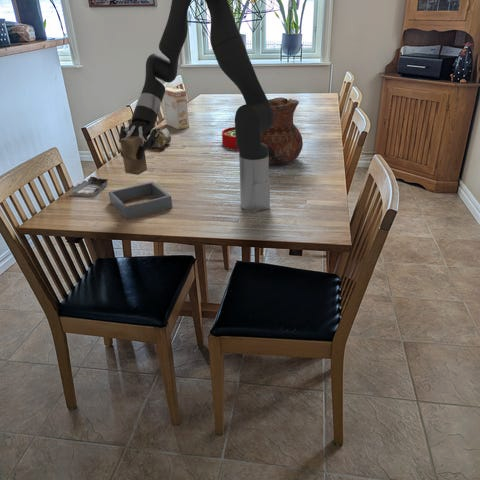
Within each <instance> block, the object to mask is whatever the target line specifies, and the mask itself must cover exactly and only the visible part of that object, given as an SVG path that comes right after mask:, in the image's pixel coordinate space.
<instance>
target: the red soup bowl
mask: <svg viewBox="0 0 480 480" xmlns="http://www.w3.org/2000/svg"><path fill="white" fill-rule="evenodd" d="M221 141H222V146H224V147H225V148H227V147H228V149H231V148H232V149H231V150H238V147H237V144H236V133H235V126H231V127H227V128H225V129H223V130H222V131H221Z"/></svg>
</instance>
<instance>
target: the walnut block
mask: <svg viewBox="0 0 480 480" xmlns="http://www.w3.org/2000/svg"><path fill="white" fill-rule="evenodd" d="M140 142H141V137H139V136H127V137H125V138H123V139H120V142H119V143H120V147H121V150H122V155H123V157H122V159H123V160H122V161H123V167H124V171H125V172H124V173H125V174H129V175H137V176H139V175H141V174H142V173H144V172H146V171H147V170H148V166H147V159H146V151H145V152H144V155H143V158H141V160H138V159H137V158H136V154H137V151H138V148H139V147H140Z"/></svg>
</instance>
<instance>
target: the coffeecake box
mask: <svg viewBox="0 0 480 480" xmlns="http://www.w3.org/2000/svg"><path fill="white" fill-rule="evenodd" d="M163 107H164V115H165V123H166V125H167V126H169V127H172V128H173V129H177V130H181V129H183V130H184V129H188V127H189V128H190V123H189V112H188V111H189V110H188V98H187V90H186V89H181V88H177V87H172V86H171V87H165V94H164V97H163Z"/></svg>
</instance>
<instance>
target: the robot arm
mask: <svg viewBox="0 0 480 480" xmlns="http://www.w3.org/2000/svg"><path fill="white" fill-rule="evenodd" d="M192 1H193V0H171V3H170V4H171V5H170V9H169V14H168V18H167V21H166V23H165V27H164V29H163V32H162V35H161V37H160V41H159V43H158V50H159V51H160V52H161V54H163V55H164V56H162V55H160V54H158V53H151V54H150V55H149V56H148V57H147V58H146V61H145V77H144V78H145V79H144V85H143V87H142V90H141V93H140V96H139V98H138V99H137V101H136V105H135V107H134V109H133V110H134V111H133V113H132V116H131V123H130V124H129V125H128V126H126V127H125V126H124V125H122V126H120V128H119V129H120V131H119V138H118V142H119V143H120V139H123V138H125V137H127V136H139V137H141V142H140V147H139V148H138V151H137V154H136V158H137V159H138V160H141V158H143V155H144V152H145V153H146V150H148V149H150V150H152V148H153V147H154V146H153V145H154V144H155V142H156V140H157V138H158V137H159V135H160V134H159V132H158V131H157V129H156V128H155V125H156V123H157V120H158V117H159V114H160V110H161V106H162V102H163V101H164V98H163V97H164V94H165V88H166V87H165V85H164V84H163V83H162V82H165V83H170V84H171V83H173V82H174V81H175V80H176V78H177V76H178V69H179V67H178V66H179V58H180V54H181V51H182V49H183V47H184V44H185V42H186V39H187V36H188V31H189V25H188V24H189V23H188V13H189V12H188V11H189V8H190V5H191V4H192ZM204 2H205V4H206V7H207V10H208V12H209V15H210V29H209V31H210V32H209V35H210V36H209V41H210V47H211V50H212V52H213V54H214V56H215V60H216V62H217V65H218V66H219V67H220V69H221V71H222V72H223V74H224V75H226V77H228V78H229V79H230V81H231V82H232V83H234V85H235V86H236V87H237V88H238V90H239V91H240V93H241V95H242V97H243V99H244V104H242V105H240V106H239V107H238V108H237V109H236V112H235V116H234V127H235V133H236V144H237V147H238V149H237V150H238V155H239V158H238V159H239V190H240V191H239V193H240V207H241V209H243V210H245V211H251V212H254V213H256V212H259V211H263V210H266V209H269V208H271V181H270V180H269V172H270V171H269V170H270V169H269V166H270V165H269V148H268V146H267V145H266V144H263V143H261V139H260V133H261V132H263V131H266V130H268V129H270V128H271V127H272V125H273V122H274V114H273V110H272V107H271V105H270V103H269V101H268V100H269V99H268V97H267V95H266V93H265V91H264V89H263V87H262V85H261V83H260V81H259V78H258V76H257V74H256V71H255V69H254V66H253V64H252V62H251V59H250V57H249V54H248V51H247V47H246V45H245V42H244V39H243V37H242V35H241V32H240V31H239V27H238V25H237V22H236V20H235V16H234V14H233V11H232V9H231V6H230V2H229V0H204ZM160 80H161V81H162V82H161V81H160ZM150 142H151V143H150ZM120 156H121V157H122V158H123V155H122V149H121V150H120Z"/></svg>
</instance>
